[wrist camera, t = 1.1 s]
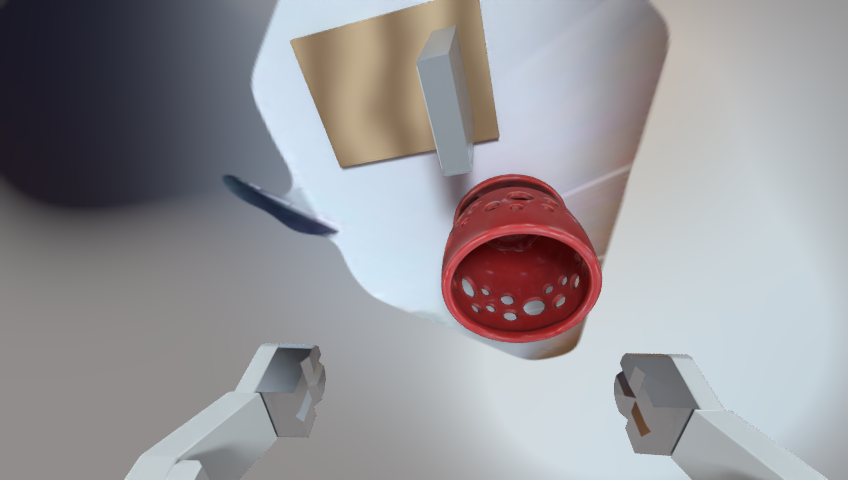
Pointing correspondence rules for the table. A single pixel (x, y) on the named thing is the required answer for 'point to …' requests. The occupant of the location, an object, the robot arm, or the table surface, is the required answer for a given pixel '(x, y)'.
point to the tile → (447, 100)
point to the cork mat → (391, 80)
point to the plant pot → (518, 261)
